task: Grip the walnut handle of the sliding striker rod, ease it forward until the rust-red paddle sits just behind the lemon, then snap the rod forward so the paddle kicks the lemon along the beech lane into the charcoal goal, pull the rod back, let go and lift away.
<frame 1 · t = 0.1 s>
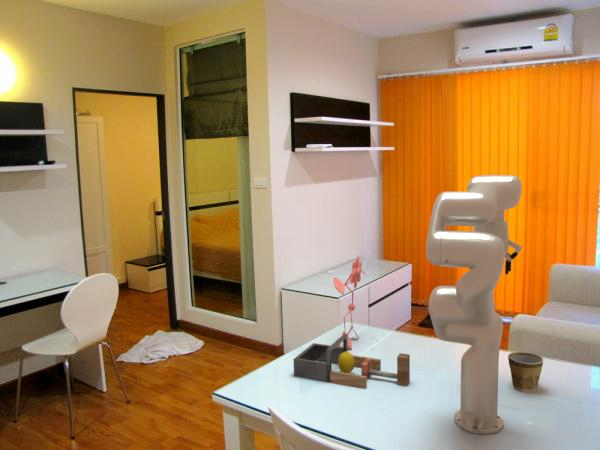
hand: (489, 272, 159), 37 cm above the table, tool pointing down, fingers open, 9 cm apart
lane: (356, 375, 175), on the table
goal: (323, 370, 180), on the table
striker: (385, 366, 170), point 5 cm above the table, slide at 0.0 cm
figurine: (358, 345, 204), on the table
ceramic cup: (523, 386, 164), on the table
lemon: (346, 374, 177), on the table
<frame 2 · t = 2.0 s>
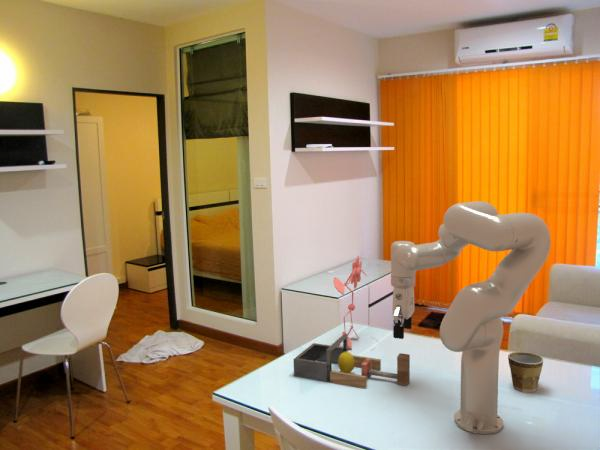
hand: (402, 333, 166), 17 cm above the table, tool pointing down, fingers open, 9 cm apart
nothing on the table moved.
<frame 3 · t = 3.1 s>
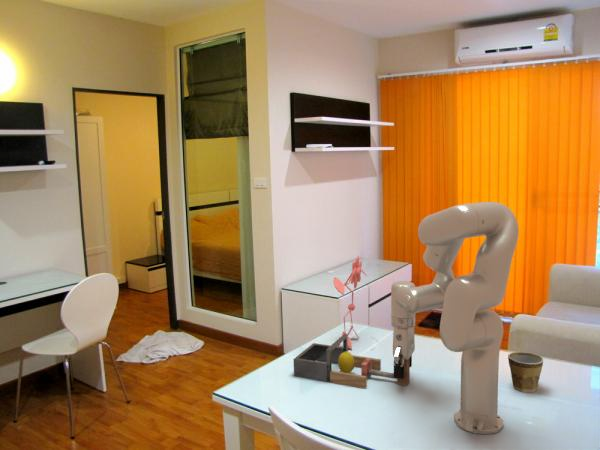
hand: (402, 372, 168), 4 cm above the table, tool pointing down, fingers open, 9 cm apart
nothing on the table moved.
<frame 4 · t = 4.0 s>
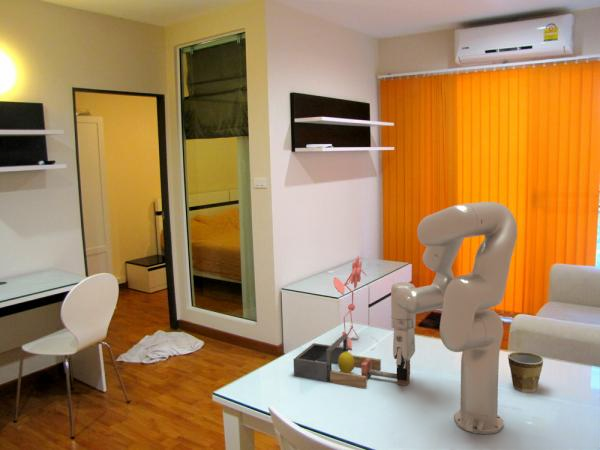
hand: (403, 376, 168), 2 cm above the table, tool pointing down, fingers closed on striker, 3 cm apart
striker: (385, 366, 170), point 5 cm above the table, slide at 0.0 cm, touching gripper
everything else where it was.
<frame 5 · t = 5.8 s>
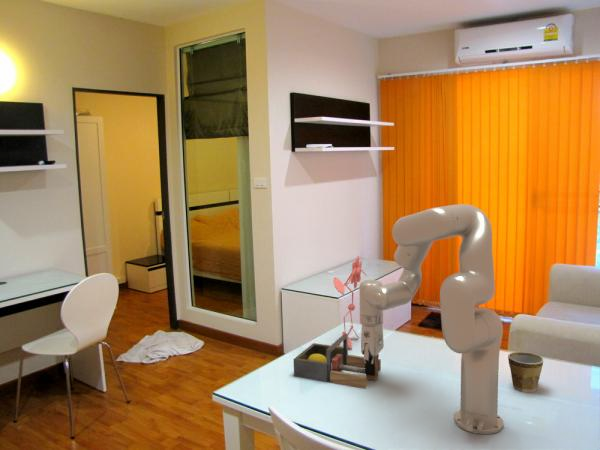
hand: (371, 371, 172), 2 cm above the table, tool pointing down, fingers closed on striker, 3 cm apart
striker: (355, 361, 175), point 5 cm above the table, slide at 10.4 cm, touching gripper
lemon: (329, 363, 179), point 3 cm above the table, touching goal
everything else where it was.
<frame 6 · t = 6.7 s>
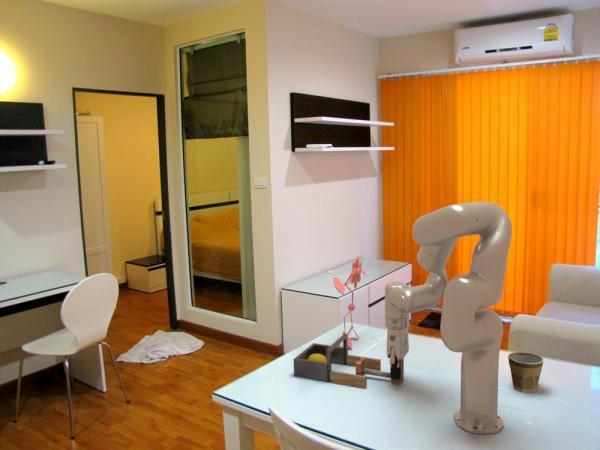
hand: (397, 375, 169), 2 cm above the table, tool pointing down, fingers closed on striker, 3 cm apart
striker: (379, 365, 171), point 5 cm above the table, slide at 2.0 cm, touching gripper
everything else where it was.
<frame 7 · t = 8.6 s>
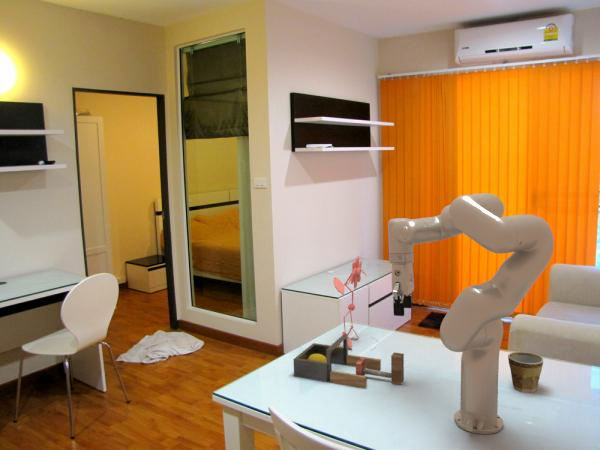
hand: (403, 311, 165), 24 cm above the table, tool pointing down, fingers open, 9 cm apart
striker: (380, 365, 171), point 5 cm above the table, slide at 1.9 cm
everything else where it was.
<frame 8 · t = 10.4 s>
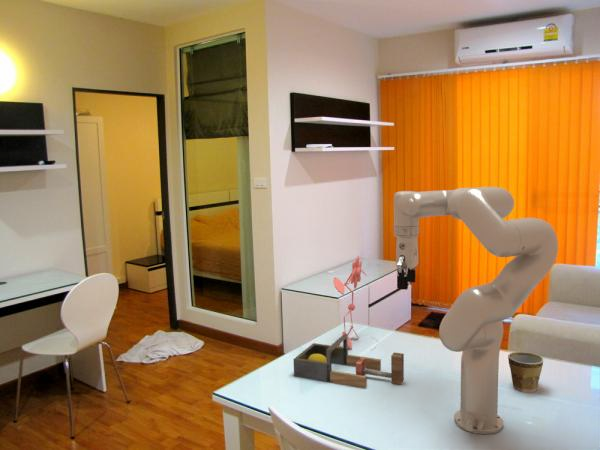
hand: (406, 285, 164), 32 cm above the table, tool pointing down, fingers open, 9 cm apart
nothing on the table moved.
at the end: lemon inside the target area (2.5 cm from its centre), point 2.7 cm above the table; lemon touching goal, table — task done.
